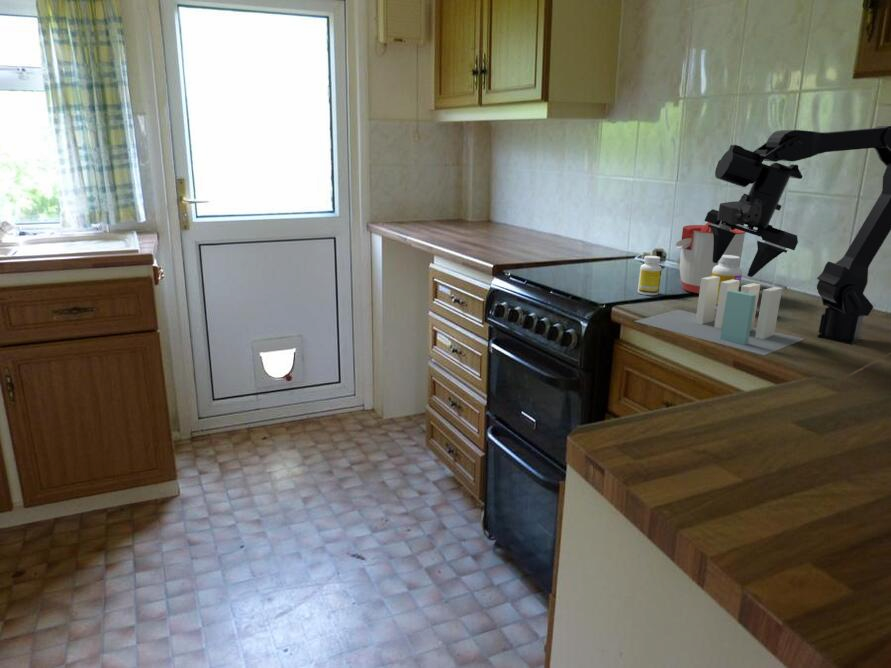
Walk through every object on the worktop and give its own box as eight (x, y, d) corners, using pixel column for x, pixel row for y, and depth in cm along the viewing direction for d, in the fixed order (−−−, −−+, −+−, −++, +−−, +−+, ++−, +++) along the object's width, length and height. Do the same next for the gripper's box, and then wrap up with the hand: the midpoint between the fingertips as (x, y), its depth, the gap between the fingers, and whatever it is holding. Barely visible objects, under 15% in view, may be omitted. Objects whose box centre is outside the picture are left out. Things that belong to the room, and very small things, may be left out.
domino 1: (713, 320, 148) (720, 277, 145) (701, 324, 145) (708, 279, 142) (706, 319, 149) (713, 275, 146) (695, 322, 146) (701, 278, 143)
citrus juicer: (659, 285, 185) (668, 213, 179) (718, 285, 187) (728, 213, 181) (684, 298, 170) (695, 220, 164) (748, 298, 172) (760, 221, 166)
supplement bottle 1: (661, 296, 172) (665, 258, 169) (640, 295, 172) (644, 258, 169) (655, 291, 177) (659, 255, 174) (635, 290, 177) (639, 254, 174)
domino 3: (752, 329, 141) (760, 284, 138) (741, 333, 138) (749, 287, 135) (745, 328, 142) (753, 283, 140) (734, 332, 139) (741, 285, 137)
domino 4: (773, 335, 138) (782, 288, 135) (762, 339, 135) (770, 291, 132) (766, 333, 139) (774, 286, 136) (755, 337, 136) (763, 290, 133)
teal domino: (724, 337, 135) (731, 290, 132) (747, 343, 132) (755, 294, 129) (720, 338, 134) (727, 291, 131) (744, 344, 131) (752, 295, 128)
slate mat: (804, 340, 136) (804, 338, 136) (763, 356, 125) (764, 355, 125) (678, 310, 157) (678, 309, 157) (633, 322, 146) (633, 321, 146)
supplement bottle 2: (732, 313, 156) (740, 259, 152) (703, 308, 160) (710, 256, 156) (739, 308, 161) (747, 256, 157) (711, 303, 165) (719, 252, 161)
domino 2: (732, 325, 145) (739, 280, 142) (721, 328, 142) (728, 283, 139) (725, 323, 146) (732, 279, 143) (714, 327, 143) (720, 282, 140)
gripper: (702, 175, 133) (671, 248, 137) (778, 194, 117) (741, 276, 122) (738, 188, 138) (707, 259, 142) (815, 209, 123) (779, 287, 127)
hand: (731, 269), depth 133 cm, fingers open, 9 cm apart
